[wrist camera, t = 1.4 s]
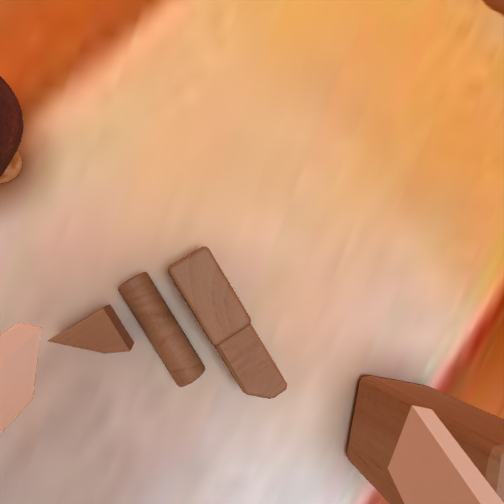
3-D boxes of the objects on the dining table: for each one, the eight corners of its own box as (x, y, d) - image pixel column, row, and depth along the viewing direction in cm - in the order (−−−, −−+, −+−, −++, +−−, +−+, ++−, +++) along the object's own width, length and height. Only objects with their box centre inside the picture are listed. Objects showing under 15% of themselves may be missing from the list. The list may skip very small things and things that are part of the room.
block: (430, 385, 46) (617, 466, 27) (416, 468, 45) (601, 615, 26) (357, 371, 44) (502, 449, 25) (342, 457, 43) (480, 608, 24)
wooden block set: (203, 235, 36) (295, 390, 37) (198, 241, 42) (279, 375, 43) (37, 332, 33) (144, 499, 34) (56, 323, 38) (148, 468, 39)
